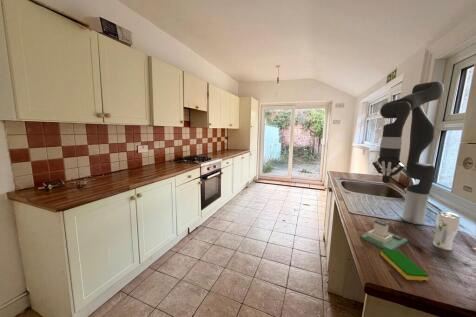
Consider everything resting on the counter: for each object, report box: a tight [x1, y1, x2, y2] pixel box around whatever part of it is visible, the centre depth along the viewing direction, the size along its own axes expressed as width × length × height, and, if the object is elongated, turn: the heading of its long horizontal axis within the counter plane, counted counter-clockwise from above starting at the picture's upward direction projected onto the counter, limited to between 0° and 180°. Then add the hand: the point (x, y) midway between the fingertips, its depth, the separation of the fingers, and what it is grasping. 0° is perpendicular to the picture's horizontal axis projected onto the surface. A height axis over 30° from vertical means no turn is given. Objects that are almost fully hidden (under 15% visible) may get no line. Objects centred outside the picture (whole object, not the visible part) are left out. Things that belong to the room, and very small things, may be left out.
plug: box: [373, 218, 390, 238], centre depth 89 cm, size 4×4×8 cm
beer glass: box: [432, 211, 461, 251], centre depth 85 cm, size 7×7×15 cm
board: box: [360, 228, 408, 250], centre depth 90 cm, size 16×12×3 cm
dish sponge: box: [380, 249, 429, 282], centre depth 73 cm, size 7×14×2 cm, turn 177°
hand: (385, 183), depth 92 cm, fingers closed
